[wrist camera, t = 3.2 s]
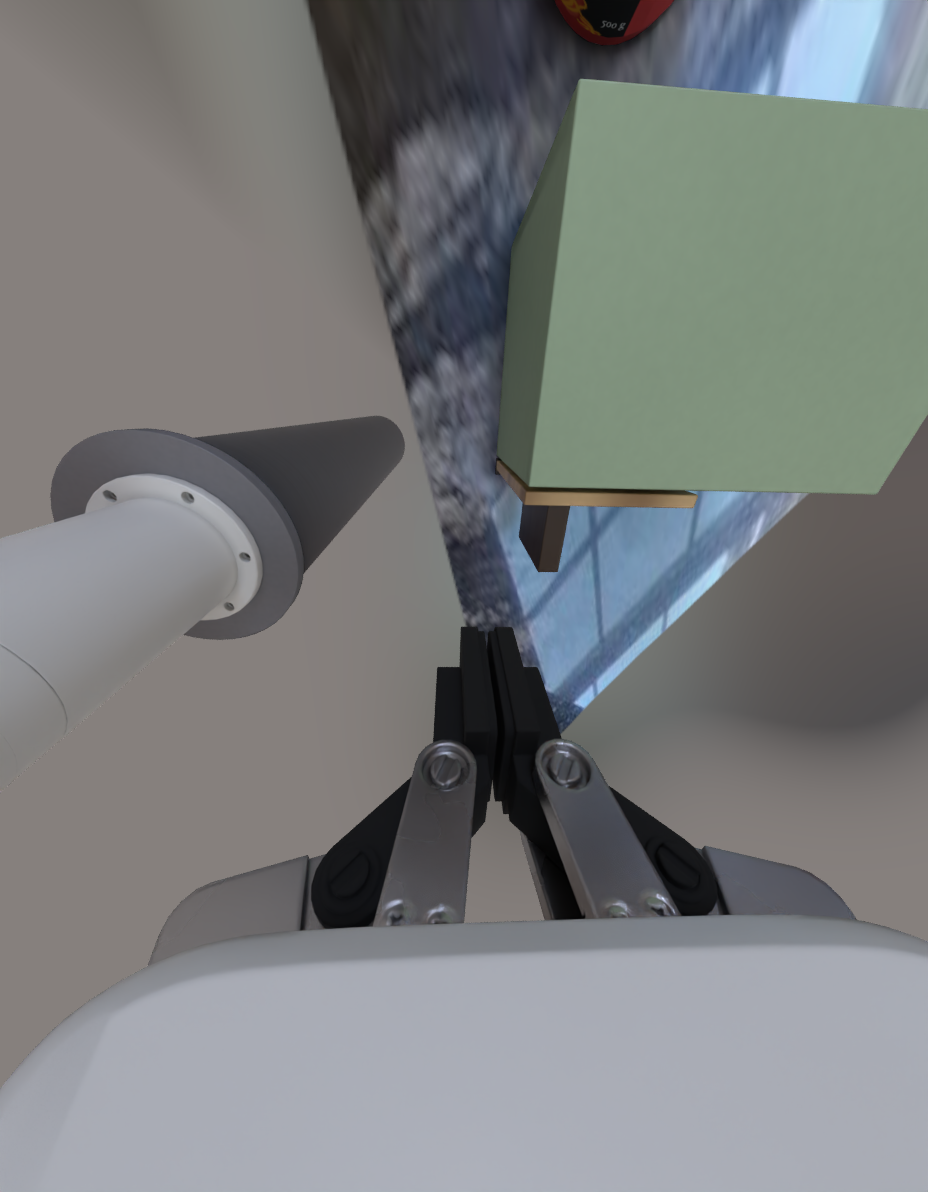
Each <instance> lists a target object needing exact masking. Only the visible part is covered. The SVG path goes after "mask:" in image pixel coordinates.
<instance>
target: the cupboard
mask: <svg viewBox="0 0 928 1192" xmlns="http://www.w3.org/2000/svg"><path fill="white" fill-rule="evenodd" d="M927 414H928V109H917V108H906V107H895V106H883V105H872V104H861V103H850V102H838V101H827V100H816V99H805V98H793V97H782V96H771V95H760V94H748V93H737V92H726V91H715V90H703V89H692V88H681V87H670V86H658V85H647V84H636V83H625V82H613V81H602V80H591V79H580V80H579V81H578V84H577V86H576V89H575V90H574V93H573V95H572V98H571V100H570V103H569V105H568V108H567V110H566V113H565V115H564V118H563V120H562V123H561V125H560V128H559V130H558V133H557V135H556V138H555V140H554V143H553V145H552V148H551V150H550V153H549V155H548V158H547V160H546V163H545V165H544V167H543V170H542V172H541V175H540V177H539V180H538V182H537V185H536V187H535V190H534V192H533V195H532V197H531V200H530V202H529V205H528V207H527V210H526V212H525V215H524V217H523V220H522V222H521V225H520V227H519V230H518V232H517V235H516V237H515V240H514V242H513V245H512V251H511V264H510V278H509V292H508V306H507V319H506V333H505V347H504V360H503V374H502V388H501V402H500V415H499V429H498V443H497V456H498V457H499V458H496V469H495V474H496V475H501V474H500V473H499V472H498V471H497V461H503V462H504V463H505V464H506V465H508V466H509V467H510V468H511V469H512V470H513V471H514V472H515V473H516V474H517V475H518V476H519V477H520V478H521V479H522V480H523V481H524V482H525V483H526V484H527V485H528V486H529V487H554V488H600V489H646V490H692V491H738V492H784V493H830V494H877V493H878V491H879V490H880V488H881V487H882V485H883V483H884V482H885V480H886V479H887V477H888V476H889V474H890V473H891V471H892V469H893V468H894V466H895V465H896V463H897V462H898V460H899V458H900V457H901V455H902V453H903V452H904V450H905V449H906V447H907V446H908V444H909V443H910V441H911V440H912V438H913V436H914V435H915V433H916V432H917V430H918V429H919V427H920V425H921V424H922V422H923V421H924V419H925V417H926V416H927Z"/></svg>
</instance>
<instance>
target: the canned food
mask: <svg viewBox="0 0 928 1192" xmlns="http://www.w3.org/2000/svg"><path fill="white" fill-rule="evenodd" d="M673 1H674V0H555V2H556V5H557V7H558V8H559V10H560V12H561V14H562V16H563V17H564V19H565V21H566V22H567V23H568V24H569V25H570V27H571V28H572V29H573V30H574V31H575V32H576V33H577V34H578V35H580V36H581V37H583V38H584V39H586V40H587V41H589V42H592V43H596V44H600V45H615V44H619V43H622V42H625V41H627V40H630V39H632V38H634V37H635V36H636V35H638V34H639V33H641V32H642V31H644V30H645V29H646V28H647V27H649V26H650V25H651V24H652V23H653V22H654V21H655V20H656V19H657V18H658V17H659V16H660V15H661V14H662V13H663V12H664V11H665V10H666V9H667V8H668V7H669V6H670V5H671V4H672V2H673Z"/></svg>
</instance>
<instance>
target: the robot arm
mask: <svg viewBox="0 0 928 1192" xmlns="http://www.w3.org/2000/svg"><path fill="white" fill-rule="evenodd" d="M262 576H263V570H262V560H261V556H260V551H259V549H258V546H257V544H256V542H255V540H254V538H253V536H252V534H251V533H250V531H249V530H248V528H247V527H246V525H245V524H244V522H243V521H242V520H241V519H240V518H239V517H238V516H237V515H236V514H235V513H234V512H233V510H232V509H230V508H229V507H228V506H227V505H225V504H224V503H223V502H222V501H221V500H219V499H218V498H217V497H215V496H214V495H212V494H210V493H209V492H207V491H206V490H204V489H202V488H200V487H198V486H196V485H194V484H191V483H189V482H187V481H185V480H181V479H178V478H174V477H171V476H167V475H159V474H151V473H147V474H134V475H129V476H125V477H121V478H116V479H114V480H112V481H110V482H108V483H105V484H103V485H102V486H101V487H100V488H99V489H98V490H96V491H95V492H94V493H93V495H92V496H91V498H90V500H89V502H88V503H87V506H86V511H85V514H81V515H78V516H75V517H71V518H68V519H64V520H61V521H58V522H54V523H51V524H47V525H44V526H41V527H37V528H34V529H31V530H27V531H24V532H21V533H17V534H14V535H10V536H7V537H3V538H0V792H1V791H2V790H4V789H5V788H6V787H7V786H8V785H9V784H11V783H12V782H13V781H14V780H15V779H16V778H17V777H19V776H20V775H21V774H22V773H23V772H24V771H25V770H27V769H28V768H29V767H30V766H31V765H32V764H34V763H35V762H36V761H37V760H38V759H39V758H40V757H41V756H43V755H44V754H45V753H46V752H47V751H48V750H50V749H51V748H52V747H53V746H54V745H55V744H57V743H58V742H59V741H60V740H62V739H63V738H64V737H65V736H66V735H68V734H69V733H70V732H71V731H72V730H73V729H75V728H76V727H77V726H78V725H79V724H80V723H81V722H83V721H84V720H85V719H86V718H87V717H89V716H90V715H91V714H92V713H93V712H94V711H95V710H97V709H98V708H99V707H100V706H101V705H102V704H104V703H105V702H106V701H107V700H108V699H109V698H111V697H112V696H113V695H114V694H115V693H116V692H117V691H119V690H120V689H121V688H122V687H123V686H124V685H126V684H127V683H128V682H129V681H130V680H131V679H133V678H134V677H135V676H136V675H137V674H138V673H139V672H140V671H142V670H143V669H144V668H145V667H146V666H148V665H149V664H150V663H151V662H152V661H153V660H154V659H156V658H157V657H158V656H159V655H160V654H161V653H163V652H164V651H165V650H166V649H167V648H168V647H170V646H171V645H172V644H173V643H174V642H175V641H177V640H178V639H179V638H180V637H181V636H182V635H183V634H185V633H186V632H187V631H188V630H189V629H190V628H192V627H193V626H194V625H195V624H196V623H197V622H199V621H200V620H216V619H220V618H224V617H228V616H230V615H232V614H234V613H236V612H238V611H240V610H241V609H242V608H243V607H245V606H246V605H247V604H248V603H249V602H250V601H251V600H252V599H253V598H254V596H255V595H256V593H257V591H258V589H259V587H260V585H261V580H262ZM460 641H461V642H460V667H438V668H437V683H436V701H435V719H434V720H435V721H434V738H433V743H432V744H430V745H428V746H427V747H425V749H424V750H423V751H422V752H421V753H420V754H419V756H418V758H417V761H416V763H415V767H414V771H413V775H412V777H411V778H410V779H409V780H407V781H406V782H405V783H404V784H403V785H402V786H401V787H400V788H398V789H397V790H396V791H395V792H394V793H393V794H392V795H391V796H389V797H388V798H387V799H386V800H385V801H384V802H383V803H382V804H380V805H379V806H378V807H377V808H376V809H375V810H374V811H373V812H371V813H370V814H369V815H368V816H367V817H366V818H365V819H363V820H362V821H361V822H360V823H359V824H358V825H357V826H356V827H355V828H353V829H352V830H351V831H350V832H349V833H348V834H347V835H345V836H344V837H343V838H342V839H341V840H340V841H339V842H338V843H336V844H335V845H334V846H333V847H332V848H331V849H330V850H329V851H328V853H327V854H325V855H321V856H318V857H314V858H311V859H309V857H308V855H306V856H303V857H299V858H296V859H293V860H289V861H285V862H282V863H278V864H275V865H271V866H268V867H264V868H261V869H257V870H254V871H250V872H247V873H243V874H240V875H236V876H233V877H229V878H225V879H222V880H218V881H215V882H212V883H209V884H207V885H205V886H203V887H200V888H198V889H196V890H195V891H194V892H192V893H191V894H190V895H189V896H187V897H186V898H185V899H184V900H183V901H181V902H180V904H179V905H178V906H177V907H176V909H175V910H174V911H173V912H172V913H171V915H170V916H169V917H168V919H167V921H166V923H165V925H164V926H163V928H162V930H161V932H160V934H159V936H158V939H157V942H156V945H155V947H154V950H153V953H152V955H151V958H150V961H149V964H148V966H147V967H146V968H143V969H142V970H140V971H138V972H136V973H134V974H132V975H130V976H128V977H127V978H125V979H123V980H121V981H119V982H117V983H116V984H115V985H113V986H111V987H110V988H108V989H107V990H105V991H104V992H102V993H100V994H99V995H97V996H96V997H94V998H92V999H91V1000H89V1001H88V1002H87V1003H85V1004H84V1005H83V1006H81V1007H80V1008H79V1009H77V1010H76V1011H75V1012H74V1013H72V1014H71V1015H70V1016H68V1017H67V1018H65V1019H64V1020H63V1021H62V1022H61V1023H60V1024H59V1025H58V1026H57V1027H55V1028H54V1029H53V1030H52V1031H51V1032H50V1033H49V1034H48V1035H47V1036H46V1037H45V1038H44V1039H43V1040H42V1041H41V1042H40V1043H39V1044H38V1045H37V1046H36V1047H35V1049H33V1051H32V1052H31V1053H30V1054H29V1055H28V1056H27V1057H26V1058H25V1059H24V1060H23V1061H22V1063H21V1064H20V1065H19V1066H18V1067H17V1069H16V1070H15V1071H14V1072H13V1073H12V1075H11V1076H10V1077H9V1079H8V1080H7V1081H6V1082H5V1083H4V1085H3V1086H2V1087H1V1088H0V1192H928V942H927V941H925V940H922V939H920V938H918V937H915V936H912V935H909V934H906V933H903V932H901V931H898V930H894V929H891V928H889V927H885V926H881V925H877V924H873V923H869V922H865V921H859V920H857V919H856V918H855V916H854V914H853V913H852V911H851V910H850V909H849V907H848V906H847V905H846V904H845V902H844V901H843V899H842V898H841V897H840V896H839V895H838V894H837V893H836V892H835V891H834V890H833V889H832V888H831V887H830V886H828V885H827V884H826V883H825V882H824V881H822V880H821V879H819V878H818V877H816V876H814V875H813V874H812V873H810V872H808V871H805V870H802V869H800V868H797V867H794V866H790V865H785V864H781V863H777V862H772V861H768V860H764V859H760V858H755V857H751V856H747V855H742V854H738V853H734V852H730V851H725V850H721V849H716V848H712V847H708V846H704V847H703V849H698V848H694V847H693V846H692V845H691V844H690V843H688V842H687V841H686V840H685V839H683V838H682V837H681V836H679V835H678V834H676V833H675V832H674V831H672V830H671V829H669V828H668V827H667V826H665V825H664V824H662V823H661V822H659V821H658V820H657V819H655V818H654V817H652V816H651V815H649V814H648V813H647V812H645V811H644V810H642V809H641V808H640V807H638V806H637V805H635V804H634V803H632V802H631V801H630V800H628V799H627V798H625V797H624V796H622V795H621V794H619V793H618V792H617V791H615V790H614V789H613V788H611V787H610V786H608V784H607V783H606V781H605V779H604V777H603V776H602V774H601V772H600V770H599V768H598V767H597V765H596V763H595V761H594V760H593V758H592V757H591V756H590V754H589V753H588V752H587V751H586V750H585V749H583V748H582V747H581V746H580V745H578V744H576V743H574V742H572V741H569V740H564V739H562V738H561V735H560V732H559V729H558V726H557V723H556V720H555V717H554V714H553V711H552V708H551V705H550V702H549V699H548V696H547V693H546V690H545V687H544V684H543V681H542V678H541V675H540V672H539V670H538V668H537V667H523V664H522V660H521V657H520V653H519V650H518V646H517V642H516V639H515V635H514V631H513V628H512V627H495V630H494V631H489V633H488V644H487V648H486V641H485V634H484V631H478V627H461V640H460ZM492 780H493V789H494V798H495V801H502V807H503V814H509V820H510V822H511V823H512V824H514V825H515V826H516V827H517V828H518V829H519V830H520V835H521V840H522V844H523V847H524V851H525V854H526V857H527V861H528V864H529V867H530V871H531V875H532V878H533V881H534V885H535V888H536V892H537V895H538V898H539V902H540V905H541V909H542V912H543V916H544V919H545V920H543V921H542V920H541V921H513V922H512V921H511V922H484V923H482V922H481V923H464V917H465V904H466V893H467V882H468V870H469V859H470V848H471V838H472V837H473V836H474V834H475V833H476V832H477V831H478V830H479V828H480V827H481V826H482V825H483V823H484V822H485V818H486V810H487V802H489V801H490V794H491V786H492Z"/></svg>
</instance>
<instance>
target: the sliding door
mask: <svg viewBox="0 0 928 1192" xmlns="http://www.w3.org/2000/svg"><path fill="white" fill-rule="evenodd" d="M497 471H498V472H499V473H500V474H501V476H502V477H503V478H504V479H505V481H506V482H507V483H508V485H509V486H510V487H511V488H512V490H513V491H514V492H515V493H516V495H517V496H518V497H519V498H520V500H521V501H522V502H523V506H522V514H521V523H520V531H519V538H520V540H521V542H522V544H523V545H524V547H525V549H526V551H527V553H528V554H529V556H530V558H531V560H532V562H533V563H534V565H535V567H536V569H537V571H538V572H558V568H559V562H560V557H561V552H562V547H563V541H564V536H565V531H566V525H567V520H568V515H569V509H570V506H601V507H654V508H693V507H694V505H695V502H696V500H697V497H698V495H696V494H693V493H690V492H688V491H685V490H646V489H600V488H554V487H529V486H528V485H527V484H526V483H525V482H524V481H523V480H522V479H521V478H520V477H519V476H518V475H517V474H516V473H515V472H514V471H513V470H512V469H511V468H510V467H509V466H508V465H506V464H505V463H504V462H503V461H497Z"/></svg>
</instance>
